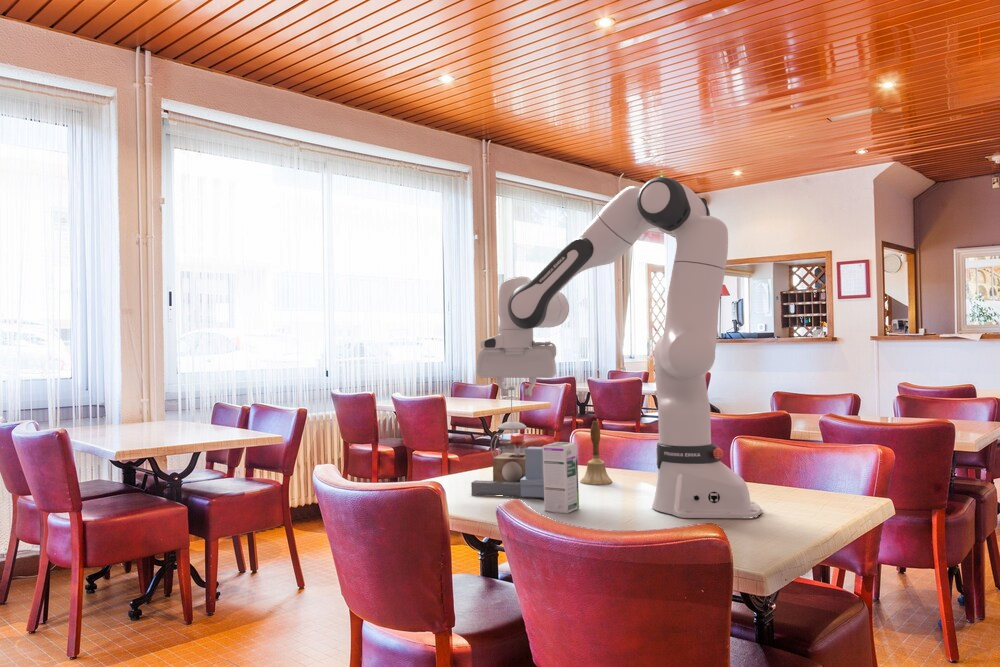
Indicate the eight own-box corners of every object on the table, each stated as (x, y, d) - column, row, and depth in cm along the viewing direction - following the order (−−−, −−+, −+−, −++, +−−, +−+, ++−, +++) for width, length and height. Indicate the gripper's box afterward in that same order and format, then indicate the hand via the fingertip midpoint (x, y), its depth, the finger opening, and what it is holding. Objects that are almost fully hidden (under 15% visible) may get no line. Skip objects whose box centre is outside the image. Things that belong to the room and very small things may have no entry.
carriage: (551, 492, 181) (550, 446, 181) (545, 497, 174) (544, 450, 174) (527, 491, 182) (526, 445, 182) (520, 496, 176) (519, 449, 176)
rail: (559, 496, 178) (559, 483, 178) (556, 498, 175) (556, 485, 175) (475, 492, 184) (475, 480, 184) (471, 495, 181) (471, 482, 181)
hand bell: (614, 484, 192) (613, 422, 192) (581, 485, 192) (581, 422, 192) (610, 479, 200) (609, 419, 201) (579, 479, 200) (578, 419, 201)
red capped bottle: (525, 466, 191) (525, 434, 191) (522, 468, 188) (521, 436, 188) (512, 465, 192) (512, 434, 192) (509, 467, 189) (508, 436, 189)
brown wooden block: (541, 484, 193) (541, 453, 193) (531, 492, 183) (531, 459, 183) (504, 483, 196) (504, 452, 196) (492, 490, 186) (492, 458, 186)
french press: (538, 477, 204) (536, 385, 205) (504, 482, 198) (502, 387, 198) (515, 472, 212) (514, 384, 213) (482, 477, 205) (481, 386, 206)
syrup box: (567, 514, 159) (566, 445, 159) (543, 511, 162) (542, 444, 163) (579, 509, 164) (578, 442, 164) (555, 506, 167) (554, 441, 167)
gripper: (558, 340, 191) (559, 395, 190) (482, 341, 196) (482, 394, 196) (553, 340, 184) (554, 397, 184) (474, 341, 190) (474, 396, 190)
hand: (516, 395), depth 190 cm, fingers open, 5 cm apart
